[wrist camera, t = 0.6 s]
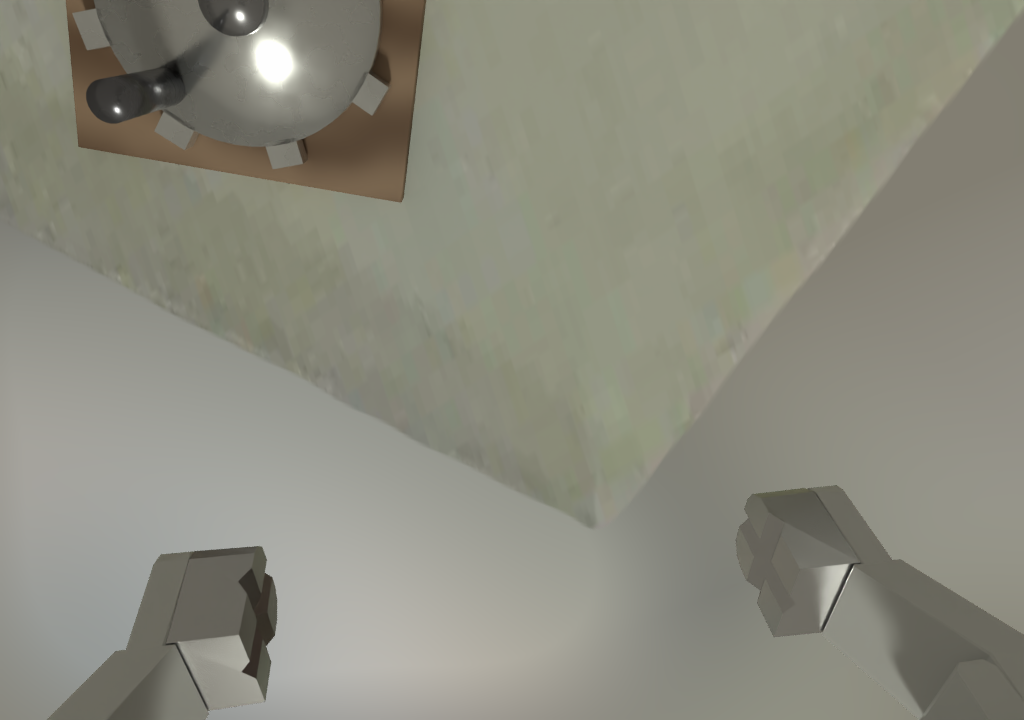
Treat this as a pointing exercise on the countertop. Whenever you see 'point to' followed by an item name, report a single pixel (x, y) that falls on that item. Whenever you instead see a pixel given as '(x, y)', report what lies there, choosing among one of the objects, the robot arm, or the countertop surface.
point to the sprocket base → (331, 151)
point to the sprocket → (237, 67)
